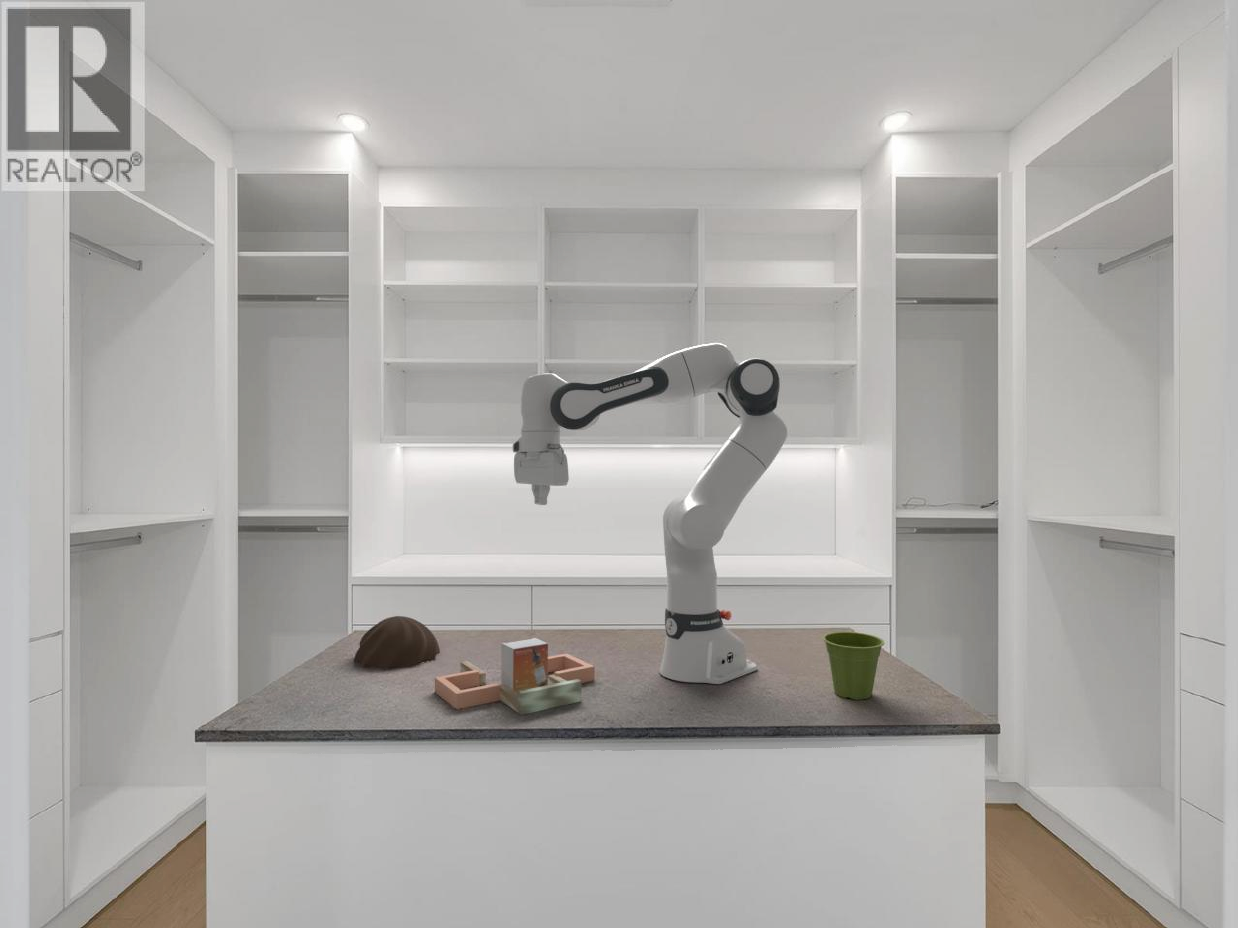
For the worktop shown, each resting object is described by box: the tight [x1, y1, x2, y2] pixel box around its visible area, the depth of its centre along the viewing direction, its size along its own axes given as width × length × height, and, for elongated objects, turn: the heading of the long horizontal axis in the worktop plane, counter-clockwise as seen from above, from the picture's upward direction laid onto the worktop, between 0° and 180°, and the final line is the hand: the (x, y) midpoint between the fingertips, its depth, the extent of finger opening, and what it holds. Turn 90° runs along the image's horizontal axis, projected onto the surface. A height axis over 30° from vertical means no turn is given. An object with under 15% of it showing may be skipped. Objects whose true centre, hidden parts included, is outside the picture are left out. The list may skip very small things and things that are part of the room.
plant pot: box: [822, 631, 885, 701], centre depth 142 cm, size 12×12×11 cm
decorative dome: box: [353, 615, 441, 670], centre depth 169 cm, size 19×20×10 cm
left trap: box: [434, 670, 501, 710], centre depth 141 cm, size 9×12×3 cm
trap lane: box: [459, 660, 582, 716], centre depth 147 cm, size 13×30×4 cm, turn 34°
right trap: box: [548, 653, 596, 684], centre depth 153 cm, size 9×12×3 cm
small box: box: [500, 637, 549, 693], centre depth 142 cm, size 8×6×10 cm
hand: (540, 504), depth 161 cm, fingers closed
